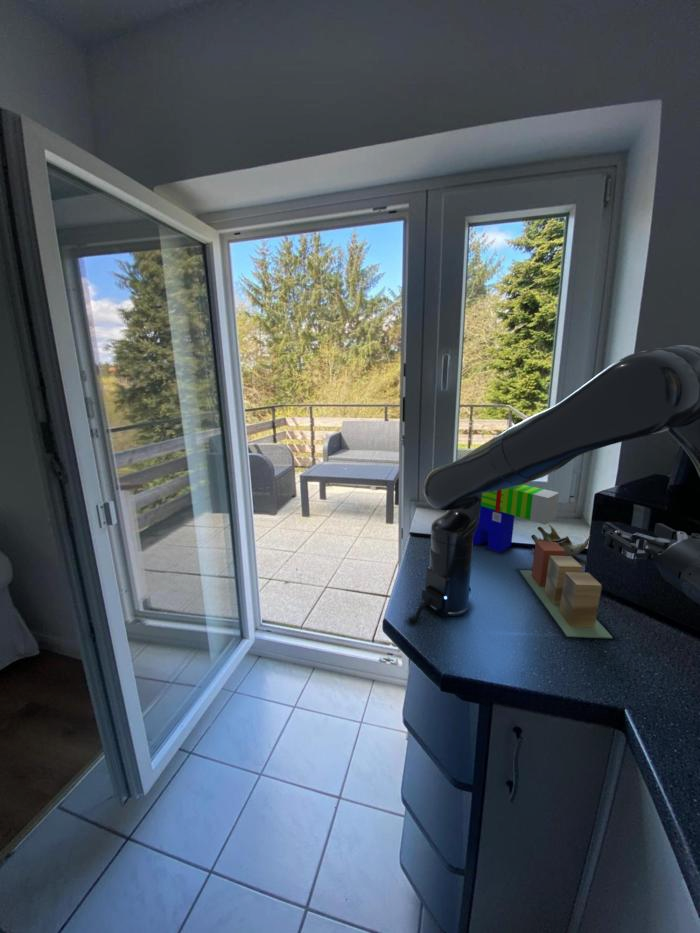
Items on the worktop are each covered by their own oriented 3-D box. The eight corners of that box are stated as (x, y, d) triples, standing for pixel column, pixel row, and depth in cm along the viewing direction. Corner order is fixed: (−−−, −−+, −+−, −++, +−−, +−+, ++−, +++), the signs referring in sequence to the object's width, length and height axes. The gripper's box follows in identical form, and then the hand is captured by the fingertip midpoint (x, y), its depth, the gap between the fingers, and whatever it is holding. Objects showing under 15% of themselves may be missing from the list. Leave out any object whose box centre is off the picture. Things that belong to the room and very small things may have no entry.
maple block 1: (576, 605, 86) (582, 566, 83) (553, 605, 86) (559, 566, 84) (565, 593, 91) (571, 556, 88) (544, 592, 91) (549, 555, 89)
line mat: (612, 638, 76) (612, 637, 76) (566, 636, 76) (566, 635, 76) (553, 572, 101) (553, 571, 101) (519, 571, 101) (519, 570, 101)
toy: (438, 529, 128) (443, 444, 121) (450, 524, 132) (455, 441, 125) (539, 568, 103) (553, 462, 95) (550, 560, 107) (564, 458, 100)
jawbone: (596, 553, 100) (576, 519, 102) (541, 568, 110) (524, 537, 111) (600, 543, 107) (581, 511, 109) (548, 557, 117) (532, 528, 118)
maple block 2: (594, 627, 79) (602, 585, 76) (570, 626, 79) (576, 584, 76) (581, 612, 83) (588, 572, 81) (558, 611, 84) (564, 571, 81)
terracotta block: (560, 587, 93) (565, 550, 91) (539, 586, 93) (544, 550, 91) (550, 576, 98) (555, 541, 96) (531, 576, 98) (535, 541, 96)
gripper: (780, 554, 47) (678, 508, 63) (663, 551, 48) (591, 506, 64) (763, 605, 49) (669, 548, 65) (651, 602, 50) (584, 546, 66)
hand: (630, 527), depth 64 cm, fingers open, 8 cm apart
